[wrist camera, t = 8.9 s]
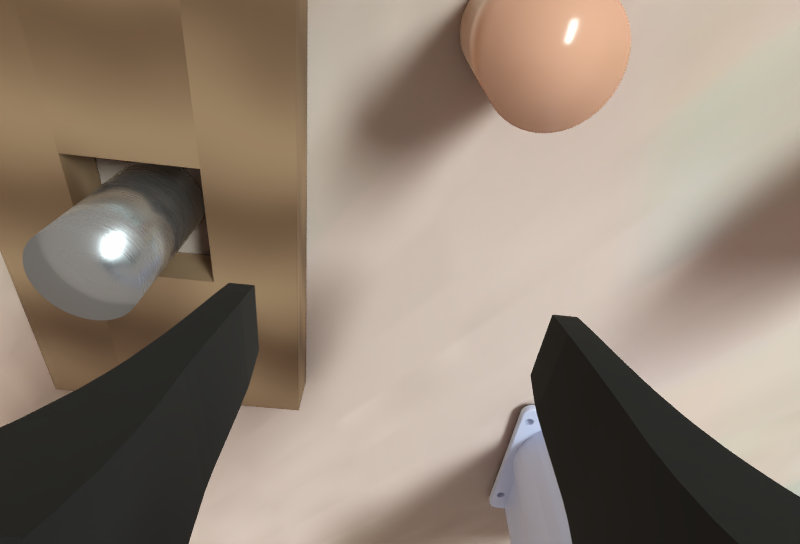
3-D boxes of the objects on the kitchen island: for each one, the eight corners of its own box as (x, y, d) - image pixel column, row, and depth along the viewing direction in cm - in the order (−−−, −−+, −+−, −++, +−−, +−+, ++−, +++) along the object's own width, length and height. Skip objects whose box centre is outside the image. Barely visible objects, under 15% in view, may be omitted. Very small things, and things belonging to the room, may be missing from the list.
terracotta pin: (546, 88, 18) (601, 140, 12) (452, 77, 17) (469, 124, 12) (575, -23, 16) (655, -15, 11) (470, -37, 15) (499, -35, 10)
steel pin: (208, 238, 21) (148, 325, 16) (128, 230, 21) (41, 315, 16) (199, 163, 19) (127, 234, 14) (110, 153, 19) (6, 222, 14)
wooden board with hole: (305, 381, 26) (298, 410, 24) (79, 360, 25) (55, 389, 24) (307, -68, 15) (295, -72, 13) (-89, -121, 14) (-154, -133, 13)
